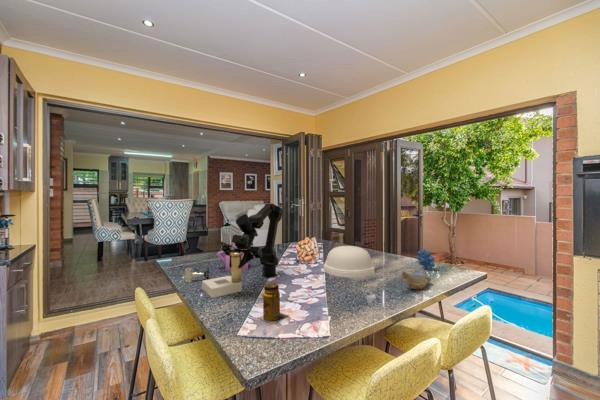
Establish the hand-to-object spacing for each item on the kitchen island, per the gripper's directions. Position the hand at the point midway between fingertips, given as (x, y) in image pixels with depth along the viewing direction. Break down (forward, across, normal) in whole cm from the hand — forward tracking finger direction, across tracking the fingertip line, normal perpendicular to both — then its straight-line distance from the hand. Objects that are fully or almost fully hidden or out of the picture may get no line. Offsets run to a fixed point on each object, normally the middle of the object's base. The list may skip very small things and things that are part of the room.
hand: (234, 267), depth 119 cm
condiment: (+18, +24, +1) cm, 30 cm away
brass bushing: (+4, 0, +6) cm, 7 cm away
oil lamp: (-19, +76, +39) cm, 88 cm away
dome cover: (-33, +40, +53) cm, 74 cm away
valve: (0, -32, +19) cm, 37 cm away
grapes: (-45, +83, +64) cm, 114 cm away
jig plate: (+5, -11, +13) cm, 18 cm away
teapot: (-21, -26, +40) cm, 52 cm away
